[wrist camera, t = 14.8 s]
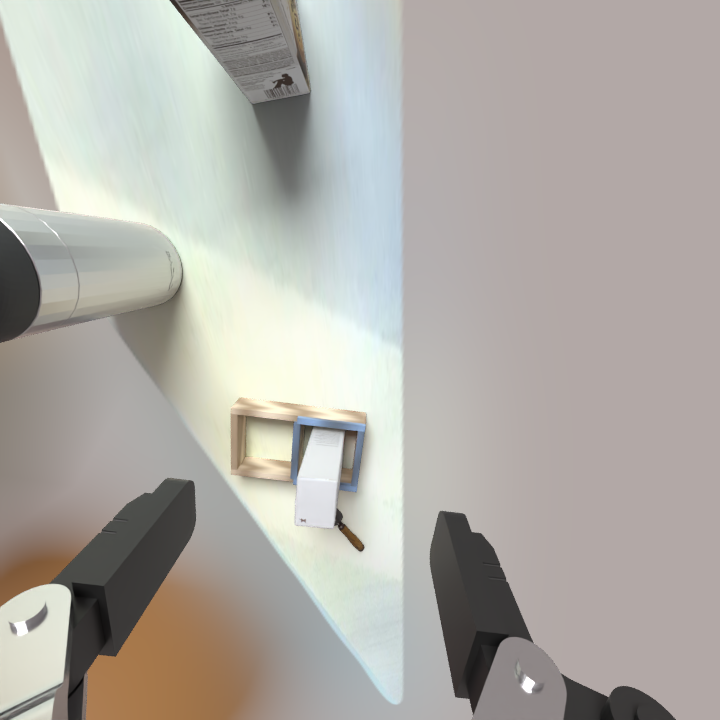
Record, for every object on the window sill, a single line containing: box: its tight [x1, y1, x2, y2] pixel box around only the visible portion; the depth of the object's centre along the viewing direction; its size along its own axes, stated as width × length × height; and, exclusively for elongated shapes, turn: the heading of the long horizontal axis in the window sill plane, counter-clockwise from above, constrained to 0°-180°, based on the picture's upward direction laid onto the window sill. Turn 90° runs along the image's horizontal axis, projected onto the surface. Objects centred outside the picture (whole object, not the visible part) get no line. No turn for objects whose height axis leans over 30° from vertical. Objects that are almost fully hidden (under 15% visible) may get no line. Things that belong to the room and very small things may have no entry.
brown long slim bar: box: [334, 509, 364, 552], centre depth 49 cm, size 9×2×1 cm, turn 30°
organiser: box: [231, 398, 366, 492], centre depth 43 cm, size 16×10×4 cm, turn 83°
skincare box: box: [295, 426, 345, 529], centre depth 39 cm, size 6×4×12 cm
